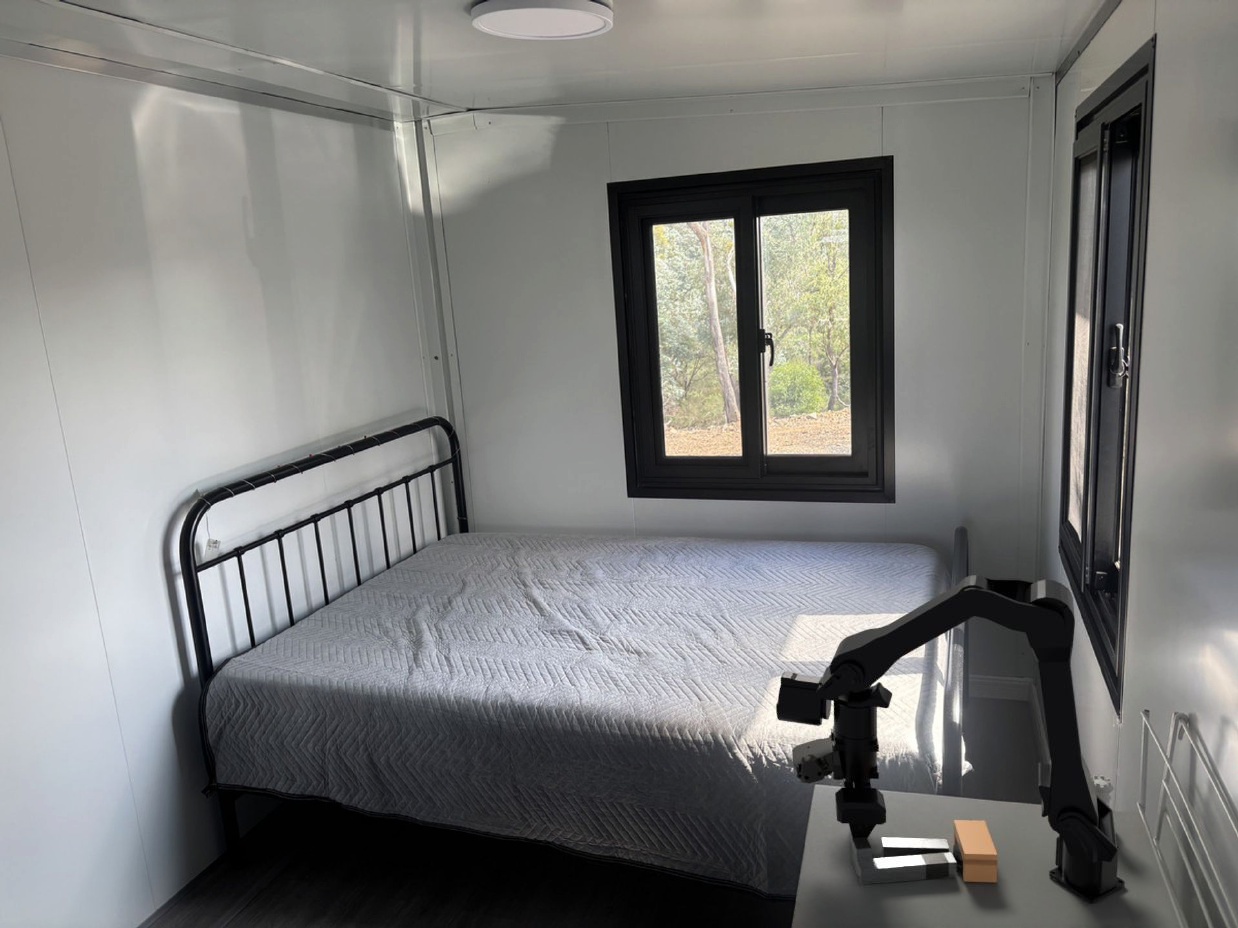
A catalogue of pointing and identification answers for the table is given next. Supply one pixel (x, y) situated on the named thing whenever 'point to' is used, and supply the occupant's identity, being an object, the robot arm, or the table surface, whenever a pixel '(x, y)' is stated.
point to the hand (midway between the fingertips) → (856, 828)
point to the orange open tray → (976, 851)
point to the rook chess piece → (1103, 789)
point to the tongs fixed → (919, 848)
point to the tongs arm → (899, 865)
